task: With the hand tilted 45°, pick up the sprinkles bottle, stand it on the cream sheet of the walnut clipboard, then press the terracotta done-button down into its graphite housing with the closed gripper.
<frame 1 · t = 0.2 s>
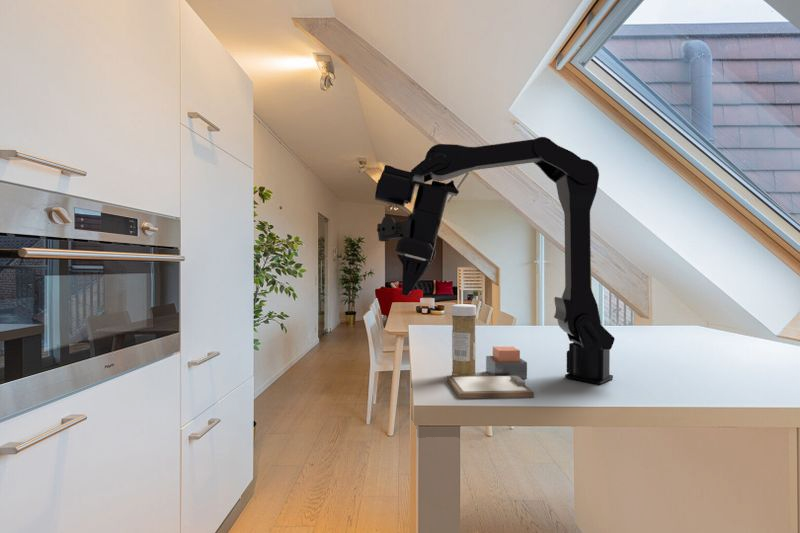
hand: (406, 293, 85), 15 cm above the counter, tool pointing down, fingers open, 9 cm apart
button housing: (505, 374, 85), on the counter
sprinkles bottle: (463, 377, 84), on the counter
clipboard: (487, 388, 76), on the counter
done button: (505, 356, 85), point 3 cm above the counter, slide at 0.0 cm
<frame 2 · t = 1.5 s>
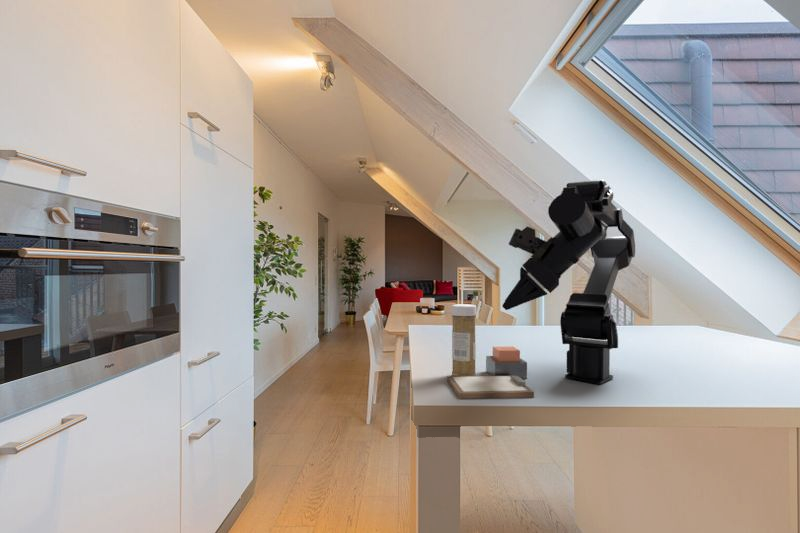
hand: (505, 305, 82), 14 cm above the counter, tool tilted 45°, fingers open, 9 cm apart
nothing on the counter moved.
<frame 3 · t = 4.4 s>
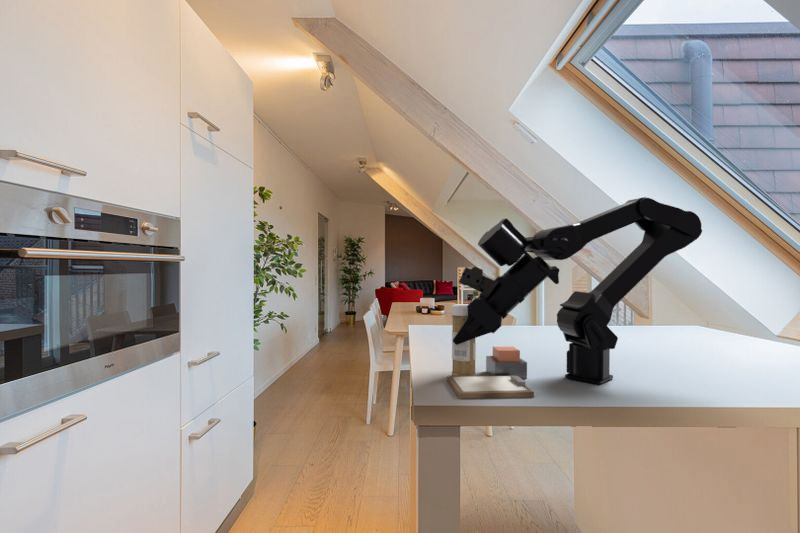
hand: (456, 340, 84), 7 cm above the counter, tool tilted 45°, fingers closed on sprinkles bottle, 4 cm apart
sprinkles bottle: (463, 377, 84), on the counter, touching gripper
everything else where it was.
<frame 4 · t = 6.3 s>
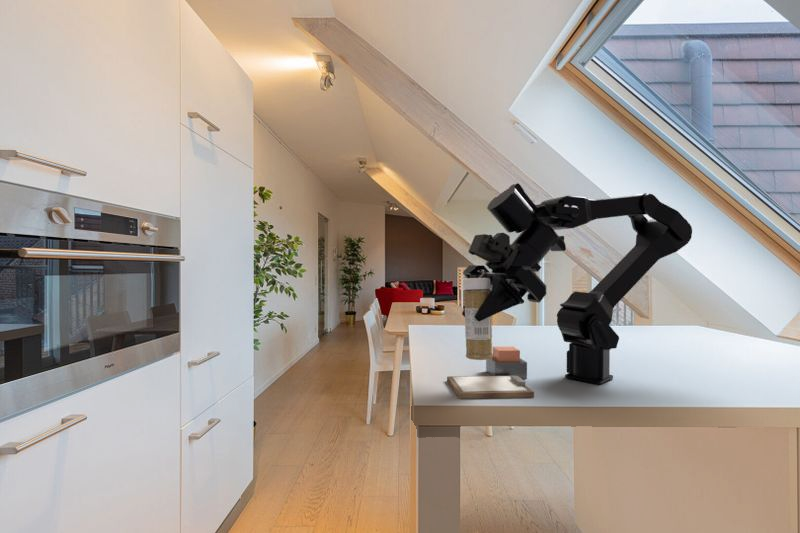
hand: (470, 317, 75), 12 cm above the counter, tool tilted 45°, fingers closed on sprinkles bottle, 4 cm apart
sprinkles bottle: (479, 359, 75), point 5 cm above the counter, touching gripper
everything else where it was.
when the fingers open (8 cm above the counter, at t = 7.4 s): sprinkles bottle stays where it is, resting on clipboard.
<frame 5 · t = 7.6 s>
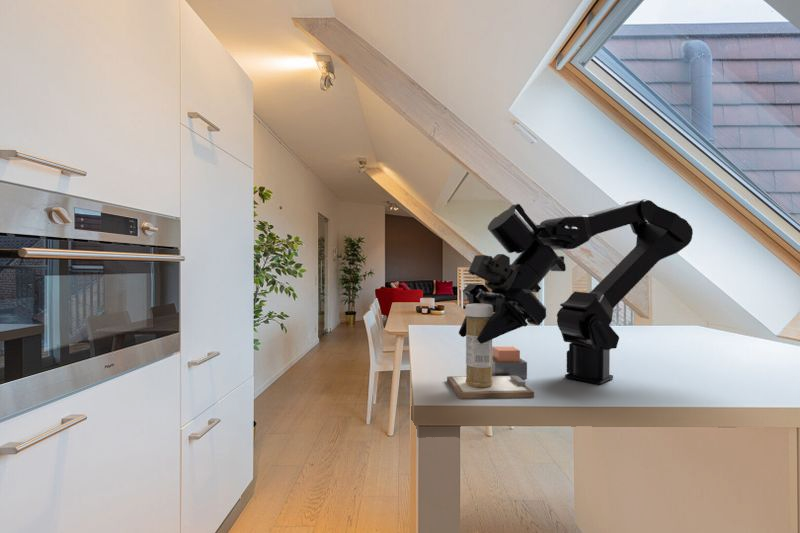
hand: (469, 338, 75), 9 cm above the counter, tool tilted 45°, fingers open, 6 cm apart
sprinkles bottle: (478, 385, 75), point 1 cm above the counter, touching clipboard
everything else where it was.
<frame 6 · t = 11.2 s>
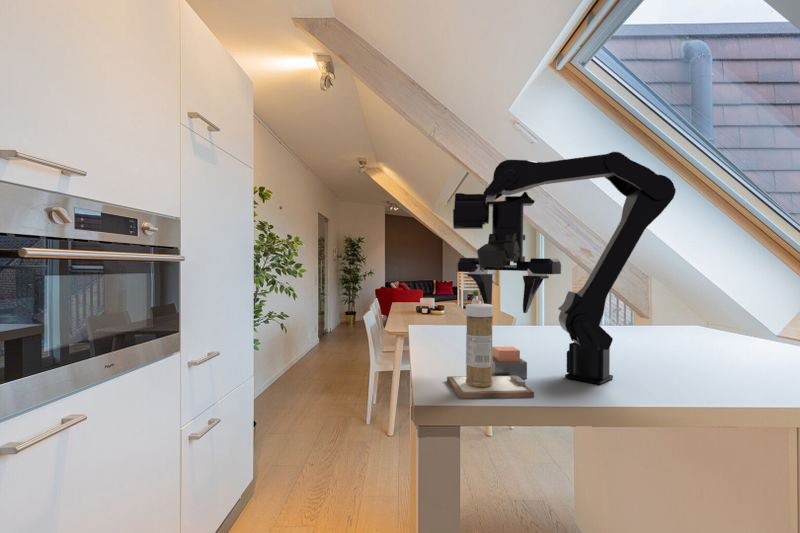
hand: (506, 311, 85), 12 cm above the counter, tool pointing down, fingers open, 7 cm apart
nothing on the counter moved.
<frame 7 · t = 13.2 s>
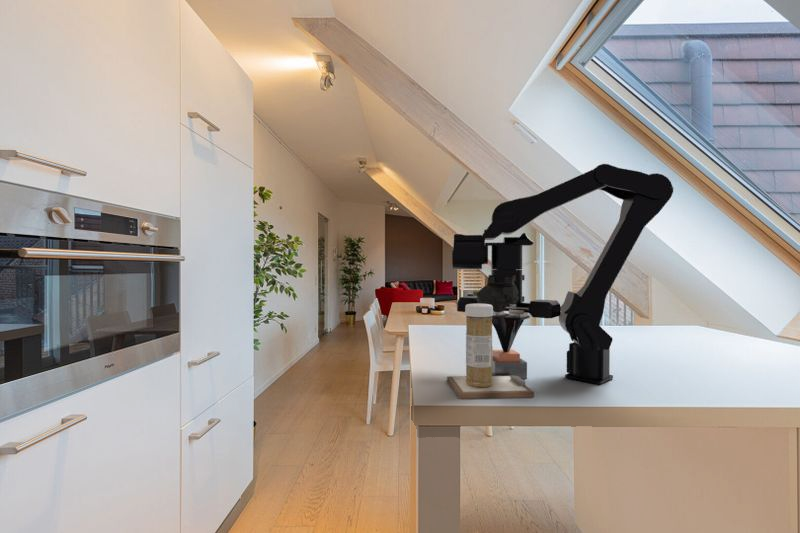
hand: (506, 351, 85), 4 cm above the counter, tool pointing down, fingers closed, pressing on done button
done button: (505, 359, 85), point 3 cm above the counter, slide at 0.6 cm, touching gripper
everything else where it was.
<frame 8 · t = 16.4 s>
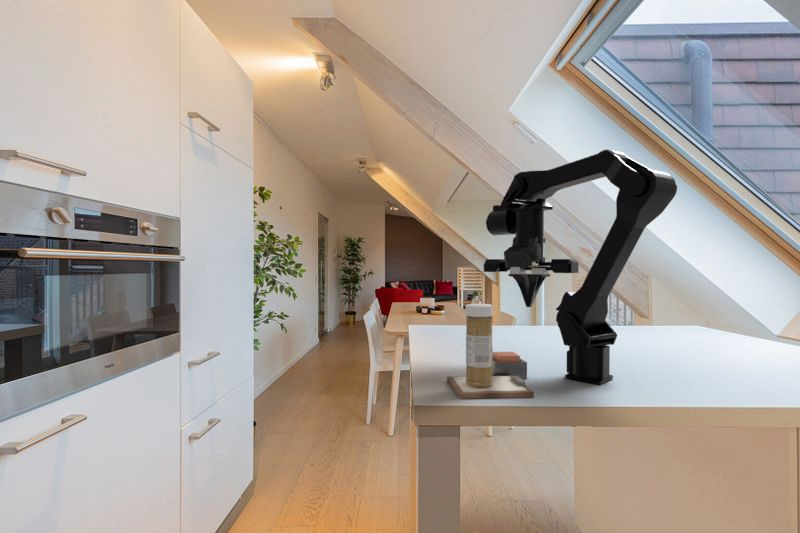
hand: (528, 307, 95), 12 cm above the counter, tool pointing down, fingers closed
done button: (505, 361, 85), point 2 cm above the counter, slide at 1.0 cm, touching button housing
everything else where it was.
at the end: sprinkles bottle 0.5 cm from the target spot, point 0.7 cm above the counter; sprinkles bottle tilted 0°; done button slide at 1.0 cm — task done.
